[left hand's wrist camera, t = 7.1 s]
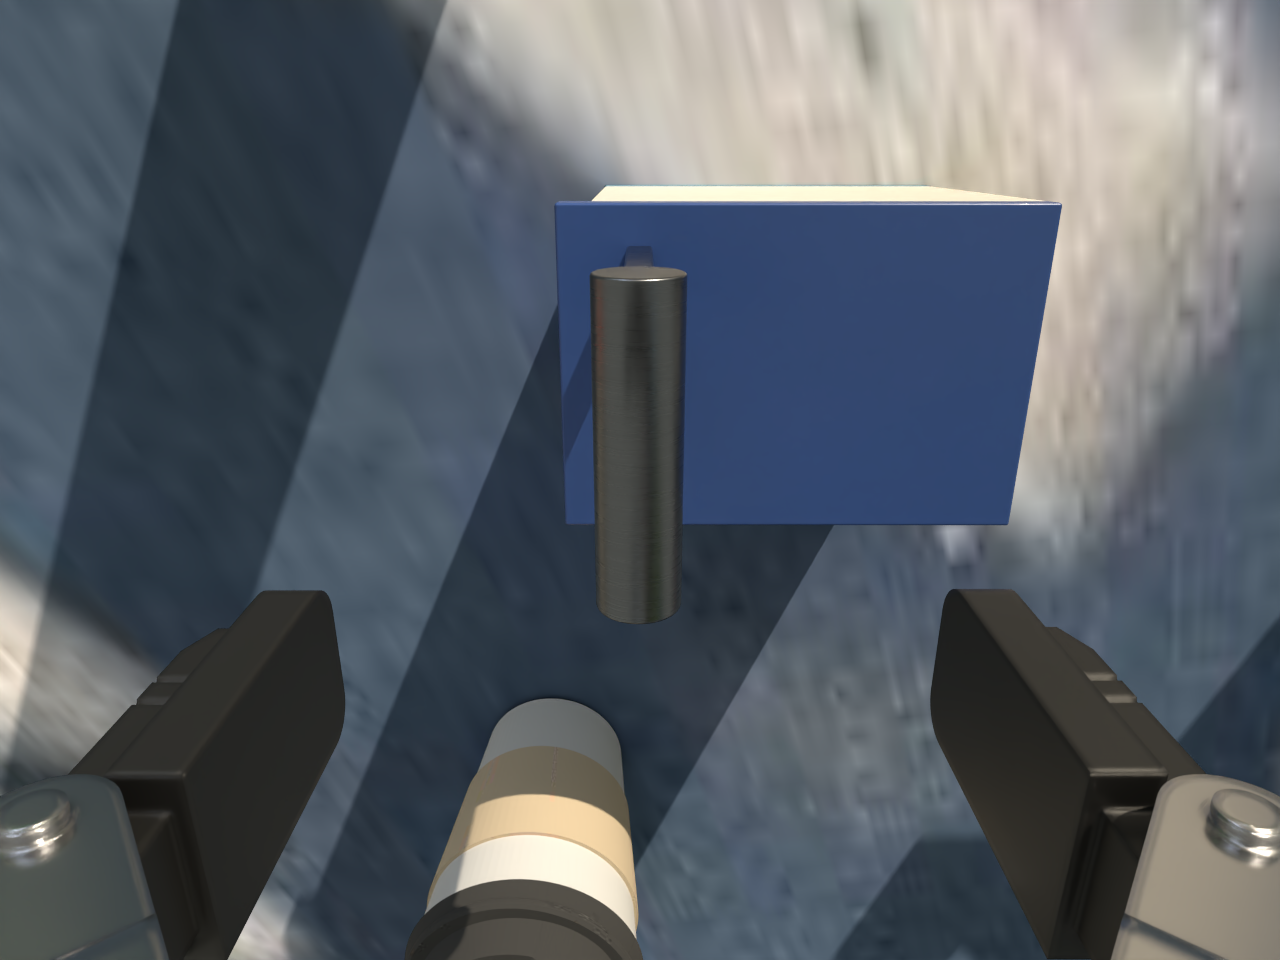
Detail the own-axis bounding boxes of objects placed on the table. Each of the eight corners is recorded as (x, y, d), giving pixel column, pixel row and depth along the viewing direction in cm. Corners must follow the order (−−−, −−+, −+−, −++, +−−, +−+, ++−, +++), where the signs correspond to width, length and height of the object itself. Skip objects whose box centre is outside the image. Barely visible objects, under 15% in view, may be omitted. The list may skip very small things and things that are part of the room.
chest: (608, 414, 38) (596, 513, 28) (604, 185, 34) (589, 200, 24) (899, 414, 38) (996, 513, 28) (925, 185, 34) (1047, 200, 24)
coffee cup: (559, 850, 46) (525, 1152, 32) (431, 754, 44) (334, 1034, 30) (679, 753, 44) (697, 1033, 30) (549, 646, 42) (504, 896, 28)
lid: (567, 513, 27) (537, 662, 19) (557, 201, 24) (515, 226, 16) (997, 514, 27) (1142, 663, 19) (1048, 201, 24) (1249, 226, 16)
